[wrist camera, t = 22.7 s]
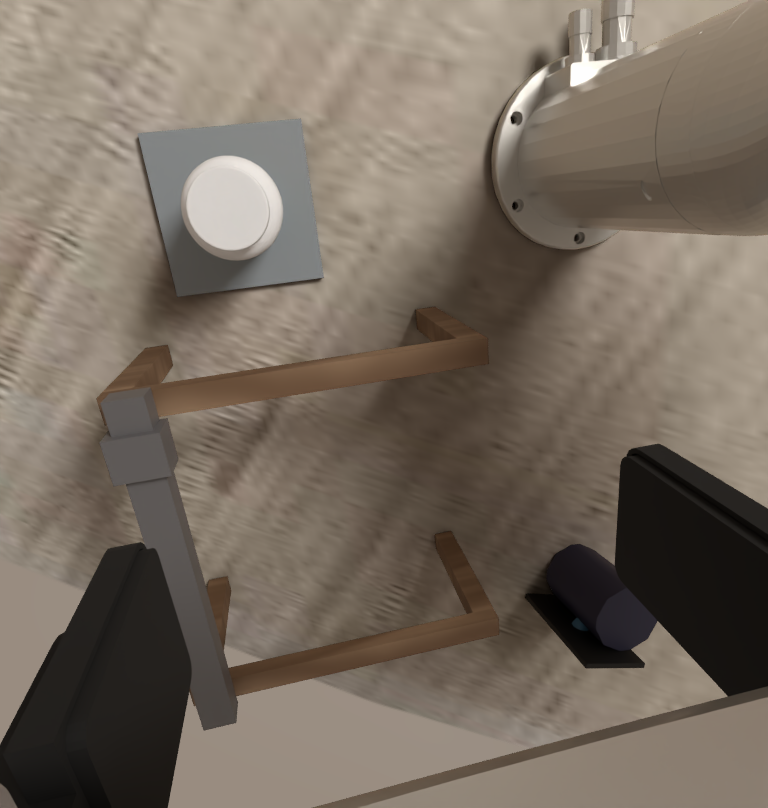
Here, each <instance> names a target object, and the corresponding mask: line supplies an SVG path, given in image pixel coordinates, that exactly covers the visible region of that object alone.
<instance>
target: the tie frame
mask: <svg viewBox="0 0 768 808" xmlns="http://www.w3.org/2000/svg"><path fill="white" fill-rule="evenodd" d="M416 321H417V329H418V330H419V331H420V332H421V333H423V334H424V335H425V336H426V337H427V338H429V339H430V340H431V341H432V342H430V343H423V344H417V345H410V346H404V347H397V348H391V349H384V350H378V351H371V352H364V353H358V354H351V355H345V356H338V357H332V358H325V359H319V360H312V361H305V362H299V363H292V364H286V365H279V366H273V367H266V368H260V369H253V370H247V371H240V372H233V373H227V374H220V375H214V376H207V377H201V378H194V379H188V380H181V381H174V382H168V383H161V382H162V381H163V379H164V378H165V376H166V375H167V373H168V372H169V370H170V369H171V368H172V366H173V363H172V359H171V355H170V351H169V347H168V345H164V346H157V347H150V348H145V349H144V350H143V351H142V352H141V353H140V354H139V355H138V357H137V358H136V359H135V360H134V361H133V362H132V363H131V364H130V365H129V366H128V367H127V368H126V369H125V370H124V371H123V372H122V373H121V374H120V375H119V376H118V377H117V378H116V379H115V380H114V381H113V382H112V383H111V384H110V385H109V386H108V387H107V388H106V389H105V390H104V391H103V392H102V393H101V394H100V395H99V396H98V397H97V398H96V399H97V402H98V406H99V409H100V412H101V415H102V418H103V421H104V424H105V425H107V423H106V420H105V417H104V413H103V410H102V407H101V404H100V403H101V402H102V401H103V400H104V399H105V398H106V397H107V395H108V394H109V393H115V392H122V391H128V390H135V389H141V388H148V387H151V391H152V394H153V398H154V402H155V405H156V409H157V412H158V416H159V417H161V416H167V415H173V414H180V413H186V412H192V411H198V410H205V409H211V408H217V407H223V406H229V405H236V404H242V403H248V402H254V401H261V400H267V399H273V398H279V397H286V396H292V395H298V394H304V393H310V392H317V391H323V390H329V389H335V388H342V387H348V386H354V385H360V384H366V383H373V382H379V381H385V380H391V379H398V378H404V377H410V376H416V375H422V374H429V373H435V372H441V371H447V370H454V369H460V368H466V367H472V366H478V365H485V364H489V355H488V338H486V337H485V336H483V335H481V334H480V333H478V332H476V331H475V330H473V329H471V328H470V327H468V326H466V325H465V324H463V323H461V322H460V321H458V320H456V319H455V318H453V317H451V316H450V315H448V314H446V313H445V312H443V311H441V310H440V309H438V308H436V307H429V308H422V309H416ZM435 543H436V549H437V552H438V554H439V556H440V558H441V560H442V562H443V564H444V566H445V569H446V571H447V573H448V575H449V577H450V579H451V581H452V583H453V586H454V588H455V590H456V592H457V594H458V596H459V598H460V600H461V603H462V605H463V607H464V609H465V611H466V613H467V614H465V615H461V616H456V617H452V618H447V619H443V620H438V621H434V622H430V623H425V624H421V625H416V626H412V627H408V628H403V629H399V630H394V631H390V632H385V633H381V634H377V635H372V636H368V637H363V638H359V639H355V640H350V641H346V642H341V643H337V644H332V645H328V646H324V647H319V648H315V649H310V650H306V651H301V652H297V653H293V654H288V655H284V656H279V657H275V658H271V659H266V660H262V661H257V662H253V663H248V664H244V665H240V666H235V667H231V668H228V669H229V672H230V676H231V680H232V683H233V687H234V690H235V694H236V696H239V695H243V694H248V693H252V692H256V691H260V690H265V689H269V688H273V687H277V686H282V685H286V684H290V683H295V682H299V681H303V680H308V679H312V678H316V677H320V676H325V675H329V674H333V673H337V672H342V671H346V670H350V669H355V668H359V667H363V666H367V665H372V664H376V663H380V662H385V661H389V660H393V659H397V658H402V657H406V656H410V655H414V654H419V653H423V652H427V651H432V650H436V649H440V648H444V647H449V646H453V645H457V644H462V643H466V642H470V641H474V640H479V639H483V638H487V637H491V636H496V635H499V618H498V616H497V614H496V612H495V611H494V609H493V607H492V605H491V603H490V601H489V600H488V598H487V596H486V594H485V592H484V590H483V589H482V587H481V585H480V583H479V581H478V579H477V578H476V576H475V574H474V572H473V570H472V568H471V567H470V565H469V563H468V561H467V559H466V557H465V555H464V554H463V552H462V550H461V548H460V546H459V544H458V543H457V541H456V539H455V537H454V535H453V533H452V532H451V531H448V532H443V533H438V534H435ZM207 593H208V597H209V600H210V604H211V607H212V611H213V615H214V618H215V622H216V625H217V629H218V633H219V636H220V640H221V643H222V647H223V651H224V644H225V636H226V628H227V620H228V612H229V604H230V596H231V588H230V585H229V581H228V577H222V578H217V579H212V580H209V583H208V588H207ZM189 692H190V695H191V698H192V701H193V704H194V706H196V704H195V701H194V698H193V695H192V692H191V689H190V690H189Z"/></svg>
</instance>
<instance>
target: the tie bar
mask: <svg viewBox="0 0 768 808" xmlns="http://www.w3.org/2000/svg"><path fill="white" fill-rule="evenodd" d="M100 404H101V407H102V410H103V413H104V417H105V420H106V423H107V426H108V429H109V431H108V432H107V434H106V435H105V436H104V437H103V439H102V440H101V441H100V446H101V449H102V452H103V455H104V459H105V462H106V465H107V468H108V471H109V474H110V477H111V480H112V483H113V486H118V485H124V484H126V486H127V489H128V492H129V496H130V499H131V502H132V505H133V508H134V511H135V515H136V518H137V521H138V524H139V527H140V530H141V534H142V537H143V540H144V543H145V546H146V548H147V549H150V548H155V549H156V551H157V553H158V555H159V558H160V561H161V565H162V568H163V571H164V574H165V578H166V581H167V584H168V587H169V591H170V594H171V597H172V600H173V604H174V607H175V610H176V613H177V617H178V620H179V623H180V626H181V630H182V633H183V636H184V639H185V643H186V646H187V649H188V652H189V656H190V660H191V666H192V678H191V684H190V689H191V692H192V695H193V698H194V701H195V704H196V708H197V710H198V714H199V717H200V720H201V723H202V727H203V730H208V729H212V728H216V727H221V726H225V725H229V724H233V723H236V719H237V707H238V701H237V698H236V694H235V690H234V687H233V683H232V680H231V676H230V672H229V669H228V665H227V661H226V658H225V654H224V651H223V647H222V643H221V640H220V636H219V633H218V629H217V625H216V622H215V618H214V615H213V611H212V607H211V604H210V600H209V597H208V593H207V589H206V586H205V582H204V578H203V575H202V571H201V568H200V564H199V560H198V557H197V553H196V550H195V546H194V542H193V539H192V535H191V532H190V528H189V524H188V521H187V517H186V514H185V510H184V506H183V503H182V499H181V495H180V492H179V488H178V485H177V481H176V477H175V474H174V469H175V467H176V464H177V462H178V456H177V452H176V448H175V445H174V441H173V437H172V434H171V430H170V426H169V422H168V419H167V418H166V419H160V420H159V416H158V412H157V409H156V405H155V402H154V398H153V394H152V391H151V387H148V388H141V389H135V390H128V391H122V392H115V393H109V394H108V395H107V397H106V398H105V399H104V400H103V401H102V402H101V403H100Z"/></svg>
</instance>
